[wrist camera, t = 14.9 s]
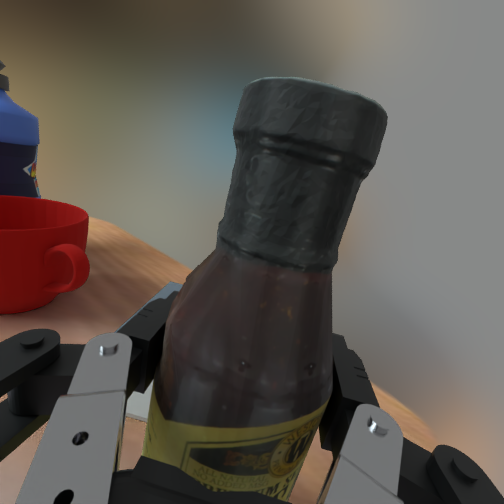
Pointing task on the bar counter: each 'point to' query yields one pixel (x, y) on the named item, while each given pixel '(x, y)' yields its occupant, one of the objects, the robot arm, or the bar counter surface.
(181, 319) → the sauce bottle
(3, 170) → the water bottle
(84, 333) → the bar counter surface
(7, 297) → the ceramic cup
